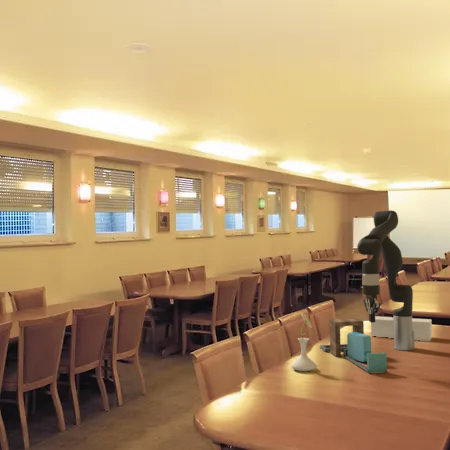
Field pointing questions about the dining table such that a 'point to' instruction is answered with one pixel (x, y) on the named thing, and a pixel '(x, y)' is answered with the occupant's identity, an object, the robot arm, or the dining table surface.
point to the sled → (371, 362)
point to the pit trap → (327, 347)
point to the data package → (358, 346)
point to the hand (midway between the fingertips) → (372, 322)
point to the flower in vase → (304, 352)
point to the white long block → (386, 328)
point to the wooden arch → (335, 332)
